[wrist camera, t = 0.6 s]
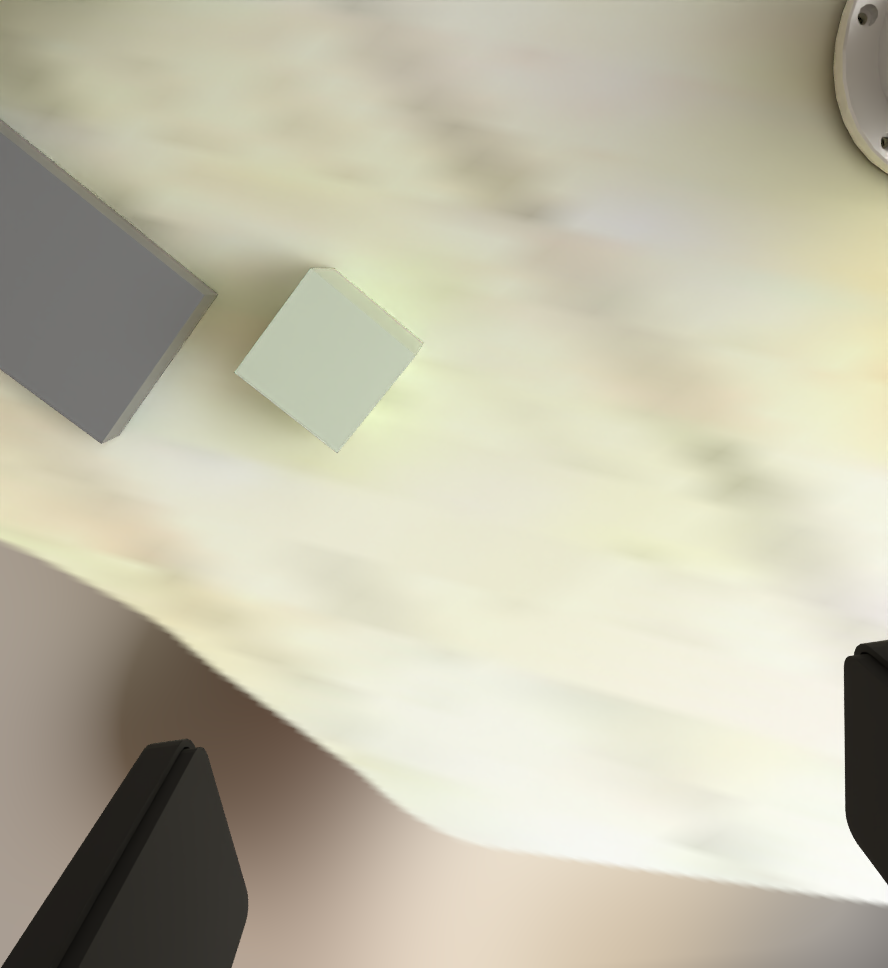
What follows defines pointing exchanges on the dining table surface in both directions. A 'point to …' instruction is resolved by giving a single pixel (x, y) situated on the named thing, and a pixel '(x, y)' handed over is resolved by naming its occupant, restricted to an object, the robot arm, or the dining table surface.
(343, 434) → the block
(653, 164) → the dining table surface
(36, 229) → the board
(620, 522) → the dining table surface
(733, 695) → the dining table surface
